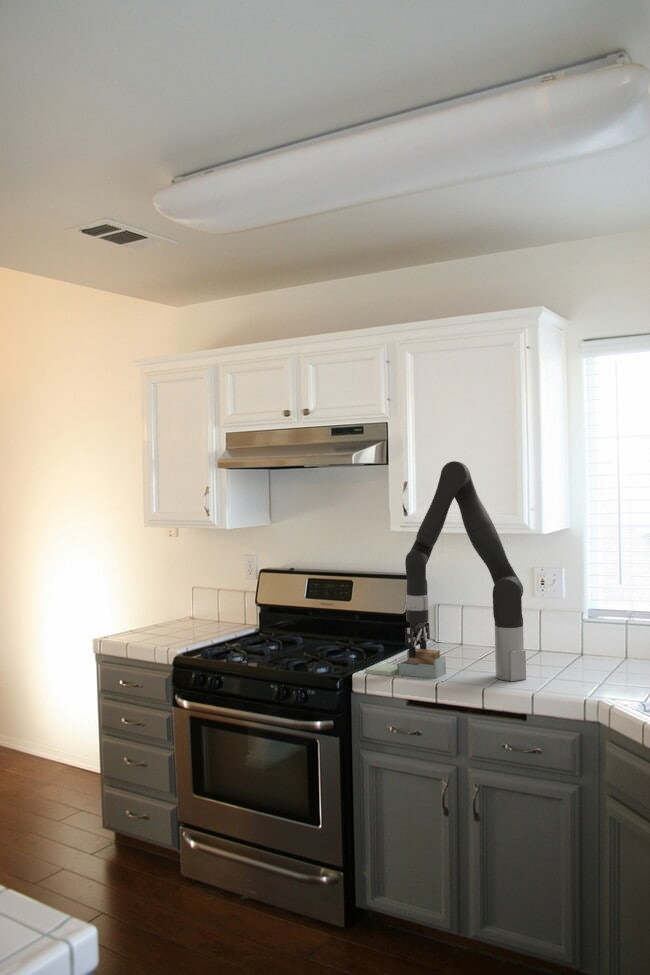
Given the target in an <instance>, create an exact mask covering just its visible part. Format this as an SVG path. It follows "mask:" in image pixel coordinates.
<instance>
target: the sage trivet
mask: <svg viewBox="0 0 650 975" xmlns="http://www.w3.org/2000/svg"><path fill="white" fill-rule="evenodd" d="M364 670H365V671H364V673H366V674H373V675H374V674H375V675H384V676H394V675H395V674H396V675H397V664H388V663H375V664H373V665H372V666H369V667H367V668H365V669H364Z"/></svg>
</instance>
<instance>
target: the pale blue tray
mask: <svg viewBox="0 0 650 975" xmlns="http://www.w3.org/2000/svg"><path fill="white" fill-rule="evenodd" d="M396 665H397V673H396V675H401V676H408V677H410V676H411V677H417V678H419V677H420V678H428V679H438V678H440V677H442V676H443V675H446V674H447V669H446V668H447V666H446V655H442V656H440V658H438V659H436V660H434V665H429V664H419V663H409V662H408V659H405V660H403V661H400V662H398V663H397V664H396Z"/></svg>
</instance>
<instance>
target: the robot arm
mask: <svg viewBox="0 0 650 975" xmlns="http://www.w3.org/2000/svg"><path fill="white" fill-rule="evenodd" d="M454 499H455V501H456V503H457V506H458V508H459V511H460V516H461V520H462V524H463V526H464V529H465V532H466V534H467V537H468V538H469V541H470V543H471V544H472V547H473V548H474V550H475V552H476V553H477V555H478V556H479V557H480V559H481V560H482V562H483V563H484V564H485V566H486V568H487V569H488V572H489V574H490V576H491V579H492V583H493V584H494V585H493V588H492V609H493V610H492V615H493V620H494V646H495V647H494V649H495V650H494V654H495V655H494V656H495V657H494V658H495V678H496V679H498V680H502V681H509V682H516V681H523V680H526V679H527V661H526V660H527V657H526V655H527V654H526V649H525V646H524V639H525V638H524V616H523V609H522V608H523V607H522V603H523V602H522V597H523V594H524V586H523V583H522V582H521V580H520V578H519V577H518V575H517V573H516V572H515V570H514V568H513V567H512V565H511V563H510V561H509V559H508V558H507V557H508V556H507V554H506V551H505V548H504V546H503V544H502V541H501V538H500V536H499V534H498V531H497V528H496V527H495V524H494V522H493V521H492V518H491V517H490V514H489V513H488V511H487V509H486V507H485V506H484V504H483V503H482V500H481V499H480V497H479V495H478V493H477V491H476V487H475V484H474V482H473V479H472V476H471V472H470V469H469V468H468V466H467V465H466V464H464V463H463V462H460V461H457V460H452V461H449V462H446V464H444V465H443V467H442V469H441V471H440V476H439V480H438V483H437V488H436V490H435V493H434V496H433V499H432V501H431V503H430V506H429V507H428V509H427V512H426V513H425V515H424V518H423V519H422V522H421V524H420V527H419V529H418V531H417V534H416V535H415V536H416V538H415V540H414V543H413V544H412V547H411V549H410V550H409V552H408V553H407V554H406V556H405V562H404V563H405V574H406V600H405V607H406V608H405V612H406V615H405V616H406V617H405V618H406V622H407V623H409V627H405V634H404V635H405V636H404V645H405V646H407V647H408V650H409V657H410V658H415V657H416V649H417V648H416V645H417V642H419V649H427V643H428V640H430V639H431V637H430V635H431V634H430V633H431V632H430V630H431V629H430V622H429V597H428V581H427V570H426V569H427V564H428V561H429V560H430V556H431V554H432V551H433V550H434V546H435V545H436V543H437V541H438V539H439V537H440V535H441V533H442V530H443V528H444V526H445V522H446V520H447V516H448V513H449V510H450V508H451V506H452V502H453V501H454Z"/></svg>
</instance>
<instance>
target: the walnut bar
mask: <svg viewBox="0 0 650 975" xmlns="http://www.w3.org/2000/svg"><path fill="white" fill-rule="evenodd" d="M406 655H407V656H406V657H407V660H408V662H409V663H419V664H429V665H434V660H436V659H438V658H440V657H441V650H440V649H439V650H437V649H420V648H416V657H415V658H410V657H409V649H408V650H407V653H406Z"/></svg>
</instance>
